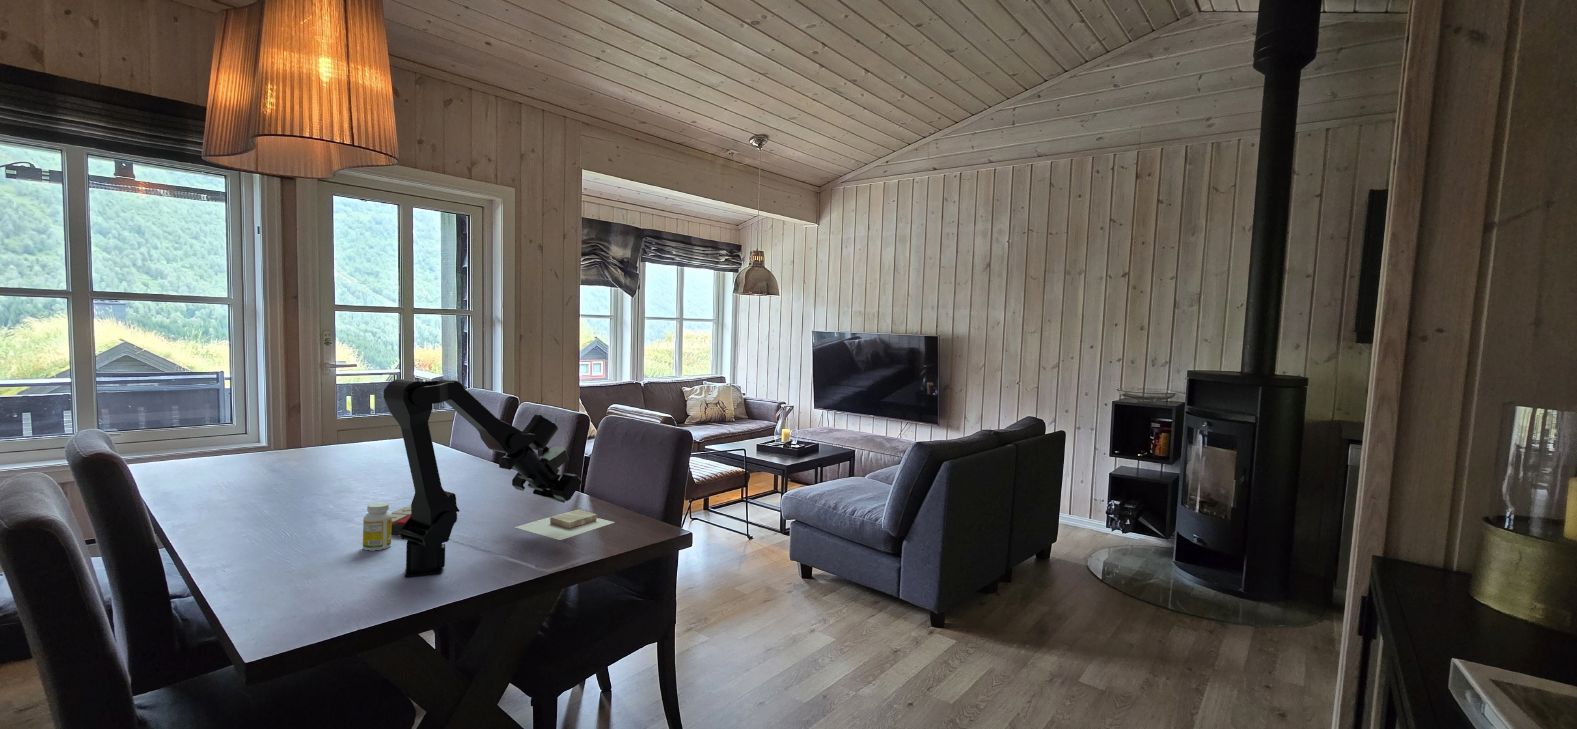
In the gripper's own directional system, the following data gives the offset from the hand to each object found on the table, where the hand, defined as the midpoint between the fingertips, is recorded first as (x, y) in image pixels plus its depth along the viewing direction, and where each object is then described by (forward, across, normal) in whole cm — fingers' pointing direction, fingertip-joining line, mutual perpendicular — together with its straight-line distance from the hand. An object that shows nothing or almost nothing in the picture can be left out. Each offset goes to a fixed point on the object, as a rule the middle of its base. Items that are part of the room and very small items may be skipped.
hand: (564, 501), depth 166 cm
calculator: (-9, +29, +20) cm, 36 cm away
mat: (+5, 0, +4) cm, 7 cm away
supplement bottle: (-19, +20, +29) cm, 40 cm away
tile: (+3, 0, +5) cm, 5 cm away
